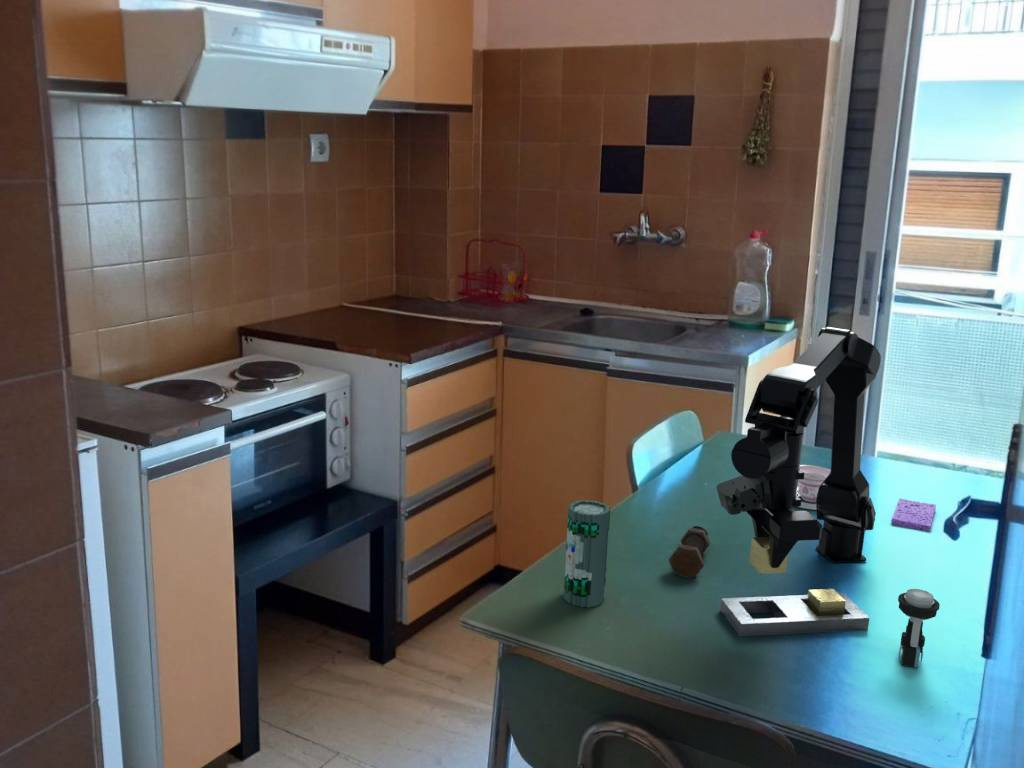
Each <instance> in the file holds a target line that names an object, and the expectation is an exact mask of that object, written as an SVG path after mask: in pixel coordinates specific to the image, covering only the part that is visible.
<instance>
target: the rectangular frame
mask: <svg viewBox="0 0 1024 768" xmlns="http://www.w3.org/2000/svg"><path fill="white" fill-rule="evenodd" d="M838 594H839V595H840V596H841V597H842V598H843V599H844V600H845V601H846V603H845V610H844V615H831V616H816V615H815V614H814V613H813V612H812V611H811V610H810V609H809V607H808V606H807V599H808V594H800V595H799V594H798V595H796V594H795V595H779V596H778V595H775V596H753V597H752V596H750V597H728V598H727V597H726V598H721V601H720V610H719V611H720V612H721V613H722V615H723V616H724V617H725V619H727V621H728V622H729V625H731V626H732V627H733V629H734V630H735V631H736V633H737V635H738V636H739V637H755V636H757V637H758V636H759V637H760V636H775V635H778V636H779V635H796V634H798V635H799V634H817V633H832V632H833V633H839V632H853V631H856V632H857V631H868V630H869V625H870V617H869V616H868V615H867V614H866V613H865V612H864V611H863V610H862V609H861V608H860V607H858V605H857V604H855V602H853V600H851V599H850V598H849V597H848V596H847V595H846V594H845V593H838ZM758 613H771V614H773V616H774V617H770V618H769V617H768V618H753V617H752V616H751V615H750V614H758Z"/></svg>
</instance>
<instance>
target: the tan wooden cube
mask: <svg viewBox="0 0 1024 768" xmlns="http://www.w3.org/2000/svg"><path fill="white" fill-rule="evenodd" d="M839 594H840V593H838V592H837V591H836V590H835V589H834V588H824V589H822V588H821V589H820V588H819V589H808V593H807V595H808V599H807V606H808V607H809V609H810V610H811V611H812V612H813V613H814V614H815V615H816V616H831V615H844V610H845V603H846V601H845V600H844V599H843V598H842V597H841V596H840V595H839Z"/></svg>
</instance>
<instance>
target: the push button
mask: <svg viewBox="0 0 1024 768" xmlns="http://www.w3.org/2000/svg"><path fill="white" fill-rule="evenodd" d="M934 597H935V596H934V595H933V594H932V593H931V592H929V591H927V590H923V589H919V588H909V589H907V590H906V592H902V593H901V594H899V595H898V597H897V601H898V609H899V610H900V611H901V612H902V613H903V614H904V615H905V616H907V617H908V621H907V625H906V627H905V631H903V632H901V638H900V645H899V650H898V658H899V659H900V658H901V666H904V667H910V668H916V669H918V668H919V662H923V658H924V651H923V650H924V648H923V647H925V642H926V636H925V635H923V634H924V633H923V628H924V627H923V626H924V621H927V620H929V619H930V620H931V619H932V618H935V617H937V612H938V611H939V610H940V606H941V605H940V602H939V601H938V600H936V599H935V598H934ZM901 651H902V652H901ZM901 653H902V656H901Z"/></svg>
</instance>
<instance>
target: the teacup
mask: <svg viewBox="0 0 1024 768" xmlns="http://www.w3.org/2000/svg"><path fill="white" fill-rule="evenodd" d="M799 469H800V470H802V471H803V472H804V473H805V474H804V479H798V485H797V491H798V492H797V493H796V496H797V494H798V497H799V498H800V497H801V506H796V507H797V508H800V509H805V510H813V511H814V510H815V511H817V509H816V498H817V493H818V491H819V487H820V485H821V484H822V482H823V481H824V480H825V479H826V478H827V476H828V475H829V474H830V471H831V468H830V469H829V468H826V467H824V466H818V465H814V464H813V465H812V464H800V467H799ZM802 500H803V501H802Z"/></svg>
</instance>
